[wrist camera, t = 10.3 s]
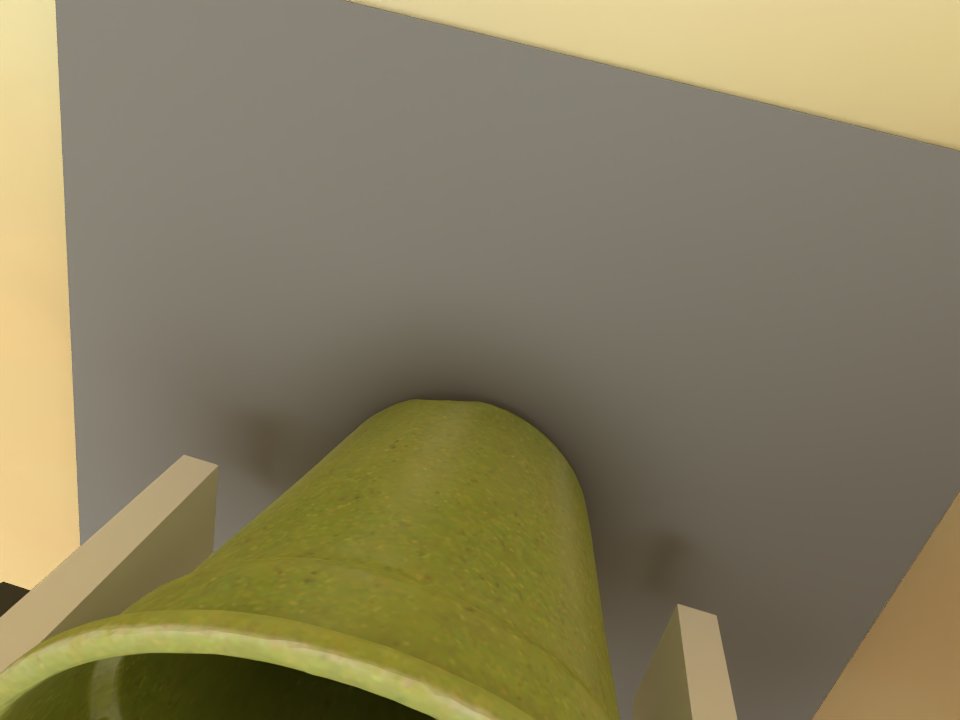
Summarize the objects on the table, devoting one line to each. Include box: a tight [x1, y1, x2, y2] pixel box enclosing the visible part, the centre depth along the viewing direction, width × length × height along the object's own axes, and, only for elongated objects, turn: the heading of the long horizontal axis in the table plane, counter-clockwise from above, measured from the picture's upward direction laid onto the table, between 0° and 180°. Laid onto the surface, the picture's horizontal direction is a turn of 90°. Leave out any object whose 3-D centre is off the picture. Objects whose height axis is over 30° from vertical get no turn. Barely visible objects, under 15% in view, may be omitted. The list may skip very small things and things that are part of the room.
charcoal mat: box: [55, 0, 960, 720], centre depth 16 cm, size 20×20×1 cm
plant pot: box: [0, 399, 620, 720], centre depth 12 cm, size 9×9×9 cm
